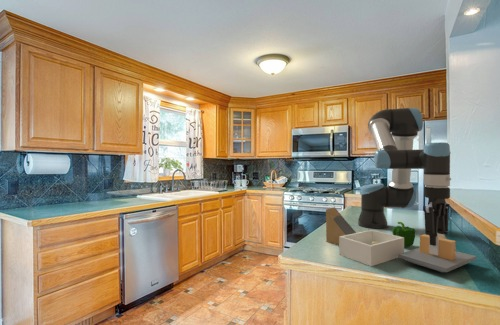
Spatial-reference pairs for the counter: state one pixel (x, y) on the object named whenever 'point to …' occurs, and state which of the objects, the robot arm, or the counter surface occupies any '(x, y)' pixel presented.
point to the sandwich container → (336, 226)
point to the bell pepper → (405, 234)
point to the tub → (371, 247)
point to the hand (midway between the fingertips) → (436, 253)
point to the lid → (444, 260)
